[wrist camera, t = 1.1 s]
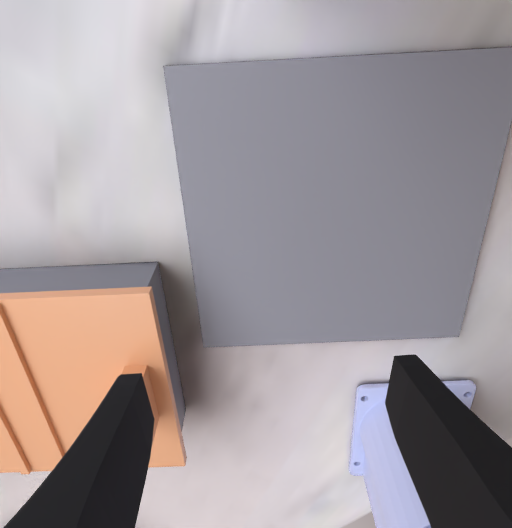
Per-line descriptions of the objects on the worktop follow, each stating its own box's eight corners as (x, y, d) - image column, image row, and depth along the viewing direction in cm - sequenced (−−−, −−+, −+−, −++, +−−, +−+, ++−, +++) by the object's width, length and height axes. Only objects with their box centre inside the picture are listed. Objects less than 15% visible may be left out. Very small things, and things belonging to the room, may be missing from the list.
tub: (185, 409, 29) (177, 452, 26) (19, 415, 29) (-8, 459, 26) (158, 261, 23) (143, 295, 20) (-49, 271, 23) (-95, 306, 20)
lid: (186, 457, 26) (177, 514, 23) (-13, 464, 26) (-49, 522, 23) (151, 286, 20) (132, 332, 17) (-109, 298, 20) (-177, 345, 17)
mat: (455, 331, 26) (458, 336, 25) (204, 342, 26) (203, 347, 26) (523, 46, 18) (529, 46, 18) (165, 65, 18) (163, 66, 18)
